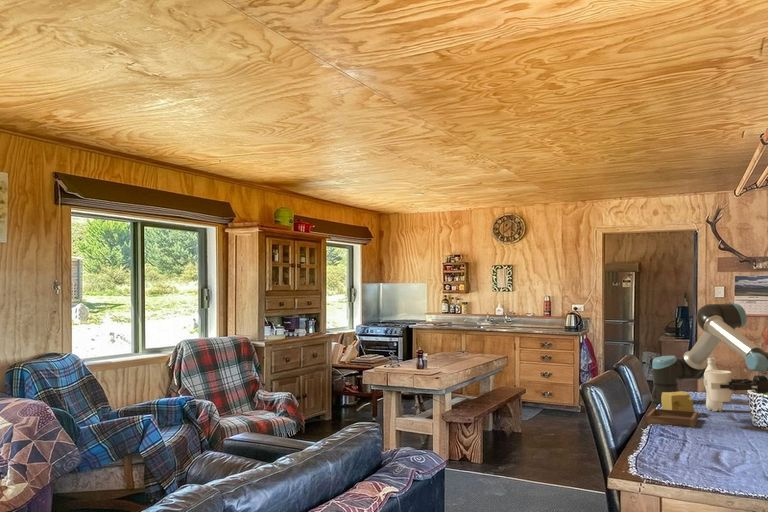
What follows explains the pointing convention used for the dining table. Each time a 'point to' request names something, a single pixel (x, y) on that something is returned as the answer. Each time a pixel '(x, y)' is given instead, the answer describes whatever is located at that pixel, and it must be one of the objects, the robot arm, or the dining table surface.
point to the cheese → (677, 401)
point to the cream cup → (718, 377)
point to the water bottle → (709, 403)
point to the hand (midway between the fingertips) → (707, 384)
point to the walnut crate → (672, 417)
